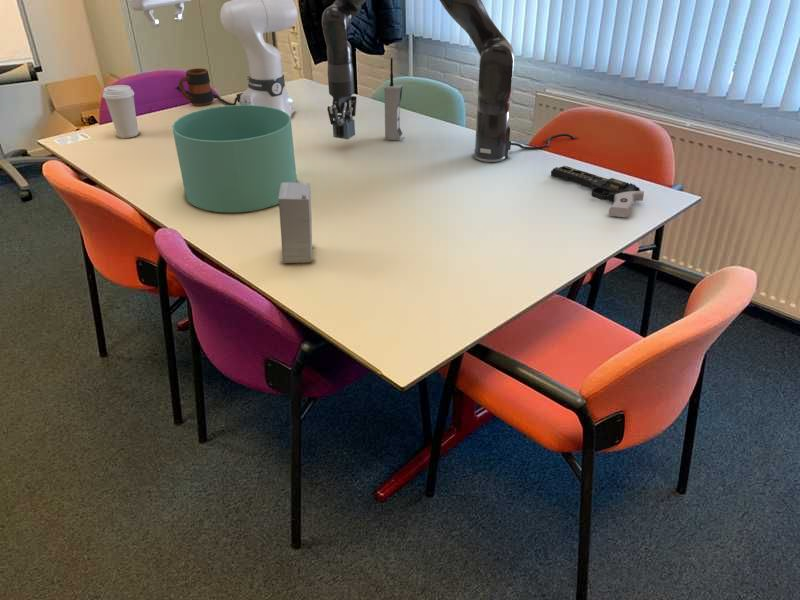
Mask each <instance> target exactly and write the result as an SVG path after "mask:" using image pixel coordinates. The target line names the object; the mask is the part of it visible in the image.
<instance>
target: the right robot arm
mask: <svg viewBox="0 0 800 600" xmlns="http://www.w3.org/2000/svg"><path fill="white" fill-rule="evenodd" d="M366 1H367V0H335V1H334V2H333V3H332V4H331V5H330V6H328V7H326V8H325V9H324V11H323V12H322V15H321V26H322V33H323V38H324V42H325V45H326V56H327V57H326V58H327V81H328V82H327V83H328V84H327V85H328V94H329V95H330V96H331V97H332V104H331V106H329V105H328V106H327V108H326V109H327V115H328V118H329V122H330V125H332V126H333V125H335V126H336V136H337V137H340V138H339V139H341V138H342V137H343V118H346V119H353V120H354V118H353V117H355V116H356V113H357V112H356V111H357V98H358V97H357V96H356V95H354V94H355V81H354V80H355V79H354V68H353V57H352V45H351V43H350V42H349V41H348V34H347V33H348V32H347V28H348V27H349V26H350V25H351V23H353V21H354V19H355V18H356V16H357V14H358V13H359V11H360V9H361V7H362V6H363V5H364V3H366ZM439 2H440V3H441V5H442V7H443V8H444V9H445V11H446V12H447V14H448V15H449V16H450V17H451V18H452V19H453V20H454V22H456V24H458V25H459V26H460V28H462V29H463V30H464V31H465V33H466V34H467V35H468V37H469V38H470V40H471V41H472V43H473V45H474V46H475V48H476V50H477V52H478V54H479V57H480V58H479V70H478V86H477V108H476V125H475V139H474V141H475V142H474V153H473V158H474V159H476V160H477V161H481V162H484V163H497V162H502V161H504V160H505V159H508V158H509V151H511V149H512V146H516V147H519V148H520V149H522V150H543V149H546V148H549V146H550V140H553V139H557V138H560V137H568V138H571V139H572V140H576V138H575V137H574V135H572V134H569V133H560V134H559V133H558V134H555V135H551V136H549V137H547V138H546V140H545V141H546V144H544V145H540V146H524V145H522V144H520V143H518V142H512V141H511V140H510V137H511V136H510V135H511V127H510V125H509V117H510V107H511V106H510V105H511V96H512V87H513V86H512V85H513V76H514V66H515V51H514V48H513V46H512V44H511V43H510V42H509V41H508V39H507V38H506V37H505V36H504V35H503V33H502V32H501V31H500V30H499V28H498V27H497V26H496V24H495V23H494V22H493V20H492V19H491V17H490V15H489V13H488V12H487V9H486V7H485V5H484V3H483V2H482V0H439ZM339 118H340V121H339Z"/></svg>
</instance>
